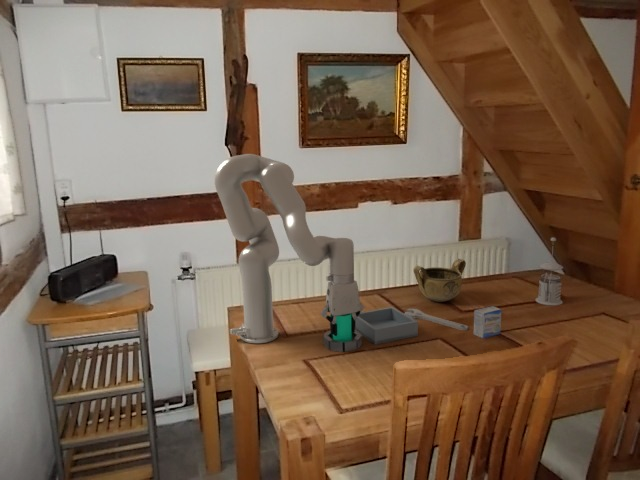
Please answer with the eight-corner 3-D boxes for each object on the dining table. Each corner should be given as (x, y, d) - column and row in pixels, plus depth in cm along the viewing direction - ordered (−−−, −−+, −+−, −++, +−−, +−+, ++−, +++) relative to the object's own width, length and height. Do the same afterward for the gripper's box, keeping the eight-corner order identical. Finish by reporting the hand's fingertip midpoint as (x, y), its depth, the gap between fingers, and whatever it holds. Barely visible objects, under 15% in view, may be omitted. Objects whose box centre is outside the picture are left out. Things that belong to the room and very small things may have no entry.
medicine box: (482, 339, 181) (483, 313, 179) (472, 334, 185) (473, 309, 183) (500, 334, 185) (502, 309, 183) (490, 329, 188) (492, 305, 186)
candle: (350, 348, 176) (349, 312, 173) (331, 347, 177) (330, 311, 174) (353, 341, 181) (352, 305, 179) (334, 339, 183) (334, 304, 180)
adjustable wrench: (469, 330, 190) (469, 325, 189) (458, 335, 186) (458, 330, 185) (411, 311, 208) (412, 307, 208) (400, 316, 204) (400, 311, 203)
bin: (374, 344, 178) (374, 329, 177) (352, 327, 193) (351, 314, 192) (417, 335, 185) (417, 321, 183) (392, 320, 199) (392, 306, 198)
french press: (564, 299, 217) (569, 236, 211) (559, 308, 207) (564, 242, 202) (538, 295, 222) (542, 233, 216) (531, 304, 212) (535, 239, 207)
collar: (333, 354, 172) (333, 345, 171) (318, 340, 182) (318, 332, 182) (367, 347, 176) (367, 338, 176) (350, 334, 187) (350, 326, 186)
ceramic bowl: (449, 289, 232) (450, 254, 228) (476, 301, 216) (478, 263, 213) (403, 297, 223) (404, 261, 219) (428, 310, 208) (429, 271, 204)
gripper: (321, 285, 168) (323, 341, 172) (372, 277, 174) (372, 331, 178) (311, 278, 174) (313, 333, 178) (360, 271, 181) (361, 324, 185)
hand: (343, 332), depth 178 cm, fingers closed on candle, 5 cm apart
